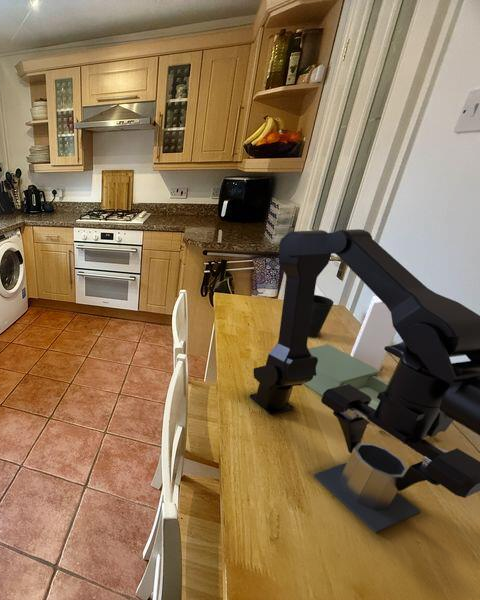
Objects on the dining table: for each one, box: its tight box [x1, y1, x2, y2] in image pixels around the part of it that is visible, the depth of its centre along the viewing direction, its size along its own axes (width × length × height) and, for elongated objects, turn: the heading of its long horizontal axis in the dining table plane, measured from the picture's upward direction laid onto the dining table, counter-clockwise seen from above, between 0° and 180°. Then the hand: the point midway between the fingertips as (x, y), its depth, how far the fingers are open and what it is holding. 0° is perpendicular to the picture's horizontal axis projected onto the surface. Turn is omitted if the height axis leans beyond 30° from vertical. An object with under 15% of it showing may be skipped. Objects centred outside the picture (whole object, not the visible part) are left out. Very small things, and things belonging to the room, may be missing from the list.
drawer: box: [342, 375, 442, 438], centre depth 68 cm, size 16×11×4 cm
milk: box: [349, 295, 397, 371], centre depth 82 cm, size 6×6×22 cm
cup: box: [308, 294, 335, 338], centre depth 101 cm, size 8×8×12 cm
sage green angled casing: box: [303, 343, 381, 397], centre depth 80 cm, size 13×13×6 cm
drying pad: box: [313, 462, 421, 534], centre depth 53 cm, size 10×10×1 cm
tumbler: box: [339, 442, 409, 510], centre depth 52 cm, size 6×7×8 cm
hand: (374, 470), depth 51 cm, fingers closed on tumbler, 7 cm apart
